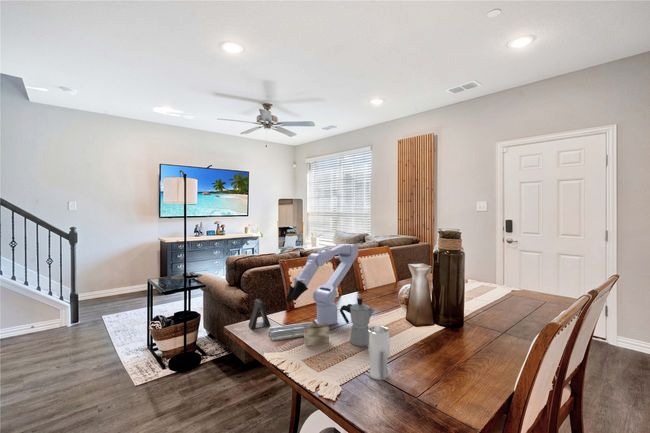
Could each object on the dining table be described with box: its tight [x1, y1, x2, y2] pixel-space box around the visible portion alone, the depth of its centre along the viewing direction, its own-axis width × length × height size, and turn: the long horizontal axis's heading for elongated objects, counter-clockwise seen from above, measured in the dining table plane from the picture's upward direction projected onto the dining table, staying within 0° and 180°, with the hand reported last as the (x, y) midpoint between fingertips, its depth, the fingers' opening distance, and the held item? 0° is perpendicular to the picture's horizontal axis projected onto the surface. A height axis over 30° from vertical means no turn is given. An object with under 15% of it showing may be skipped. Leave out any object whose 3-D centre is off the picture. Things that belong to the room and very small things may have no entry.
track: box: [268, 321, 315, 342], centre depth 132 cm, size 20×10×3 cm, turn 109°
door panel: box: [303, 323, 330, 347], centre depth 122 cm, size 10×2×7 cm, turn 108°
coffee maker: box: [339, 297, 376, 348], centre depth 122 cm, size 15×9×18 cm, turn 71°
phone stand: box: [248, 298, 272, 330], centre depth 141 cm, size 9×6×12 cm, turn 116°
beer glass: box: [367, 325, 390, 381], centre depth 98 cm, size 7×7×15 cm
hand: (290, 300), depth 127 cm, fingers open, 7 cm apart
